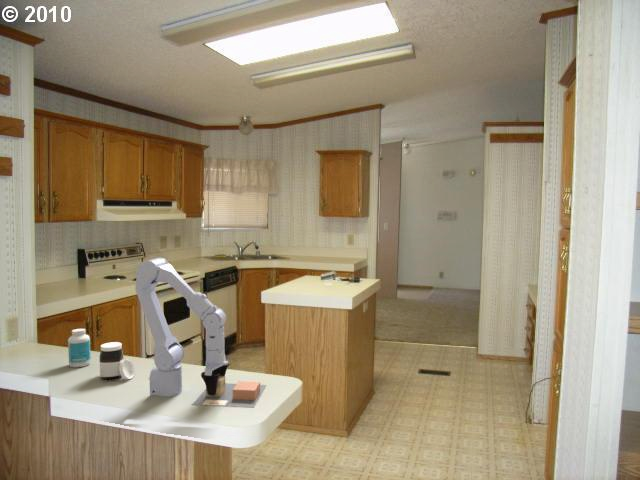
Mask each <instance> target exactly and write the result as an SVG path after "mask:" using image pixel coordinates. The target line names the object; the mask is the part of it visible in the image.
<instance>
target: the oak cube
mask: <svg viewBox="0 0 640 480" xmlns="http://www.w3.org/2000/svg"><path fill="white" fill-rule="evenodd" d="M225 383H226V375H225V376H219V378H218V382H217V389H216V394H215V395H208V392H207V388H206V387H205V389H206V396H208V397H221V396H222V395H223V394H224V392H225V391H226V389H225Z"/></svg>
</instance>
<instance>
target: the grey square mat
mask: <svg viewBox="0 0 640 480" xmlns="http://www.w3.org/2000/svg"><path fill="white" fill-rule="evenodd" d="M236 384H237V383H227V382H225V389H226V391H225V392H224V394H223V395H222V396H221V397H208V396H206V388H205V389H204V390H203V391H202V392H201V394H200V395H199V396H198V397H197V398H196V399H195V400H194V402H193V403H192V404H191V406H207V407H208V406H209V407H230V408H248V409H249V408H250V409H252V408H253V409H254V408H255V407H256V405H257V403H258V402H259V399H260V398H261V396H262V394H263V393H264V391H265V389H266V387H267V385H268V384H260V392H259V394H258V396H257V397H256V399H255V400H243V399H233V388H234V387H235V386H236Z"/></svg>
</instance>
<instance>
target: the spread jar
mask: <svg viewBox="0 0 640 480" xmlns="http://www.w3.org/2000/svg"><path fill="white" fill-rule="evenodd" d="M122 344H123V343H121V342H118V341H114V342H113V341H111V342H106V343H102V344H101V345H100V353H99V356H98V357H99V376H100V379H101V380H103V381H106V380H107V381H108V382H109V380H110V381H115V380H119V379H124V380H126V381H127V380H130V379H132V378H133V377H134V376H135V367H134V364H133V361H131V360H129V359H127V358H126V359H124V351H123V348H122V347H123V346H122Z"/></svg>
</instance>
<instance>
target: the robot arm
mask: <svg viewBox="0 0 640 480" xmlns="http://www.w3.org/2000/svg"><path fill="white" fill-rule="evenodd" d="M134 273H135V275H136V279H135V293H136V296H137V298H138V301H139V303H140V306H141V309H142V311H143V314H144V316H145V319H146V322H147V324H148V327H149V330H150V332H151V335H152V337H153V340H154V344H153V350H152V352H153V354H154V365H155V366H156V367H155V366H154V367H152V368H151V370H150V374H149V397H151V396H161V397H173V396H177V395H179V394H181V393H182V392H183V375H182V373H183V372H182V370H183V369H182V365H183V364H182V360H183V358H184V357H185V350H184V347H183V345H181V344H180V343H179V341H178V338H177V337H175V336H174V335H172V332H171V330H170V327H169V324H168V323H167V319H166V317H165V314H164V311H163V308H162V306H161V304H160V300H159V298H158V295H157V293H156V287H157V286H158V284H159V283H165V284H168V285H169V286H171V288H173V289H174V290H175V291H176V292H177V293H179V295H181V296H182V297H183V298H184V299H185V300H186V306H187V307H188V308H189V309H190V310H191V311H192V312H193V313H194V314H195V315H196V316H197V317H198V318H199V319H200V320H201V321H202V325H203V327H204V328H205V368H204V371H202V372H201V373H200V377H201V379H202V380H203V382H204V384H205V389H206V388H207V392H208V395H215V394H216V389H217V382H218V378H219V376H225V377H226V372H227V370H228V368H229V365H230V363H229V360H226V353H225V351H226V350H225V325H224V324H226V321H227V313H226V312H225V311H224V309H222V308H220V307H218V306H217V305H214V304H213V302H211V301H210V300H209V299H208V298H207V297H208V296H207V295H206V294H205V293H202V292H198V291H194V290H193V288H192V287H191V286H190V285H189V284H188V283H187V281H185V279H184V278H183V277H182V276H181V275H180V274H179V273H178V271H176V269H175V268H174V267H173V265H172V264H170V263H169V262H168V260H166V259H165V258H163V257H155V258H153V259H149V260H146V259H145V260H143V261H142V262H140V263H139V265H138V266H137V268H136V270H135V272H134Z"/></svg>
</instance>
